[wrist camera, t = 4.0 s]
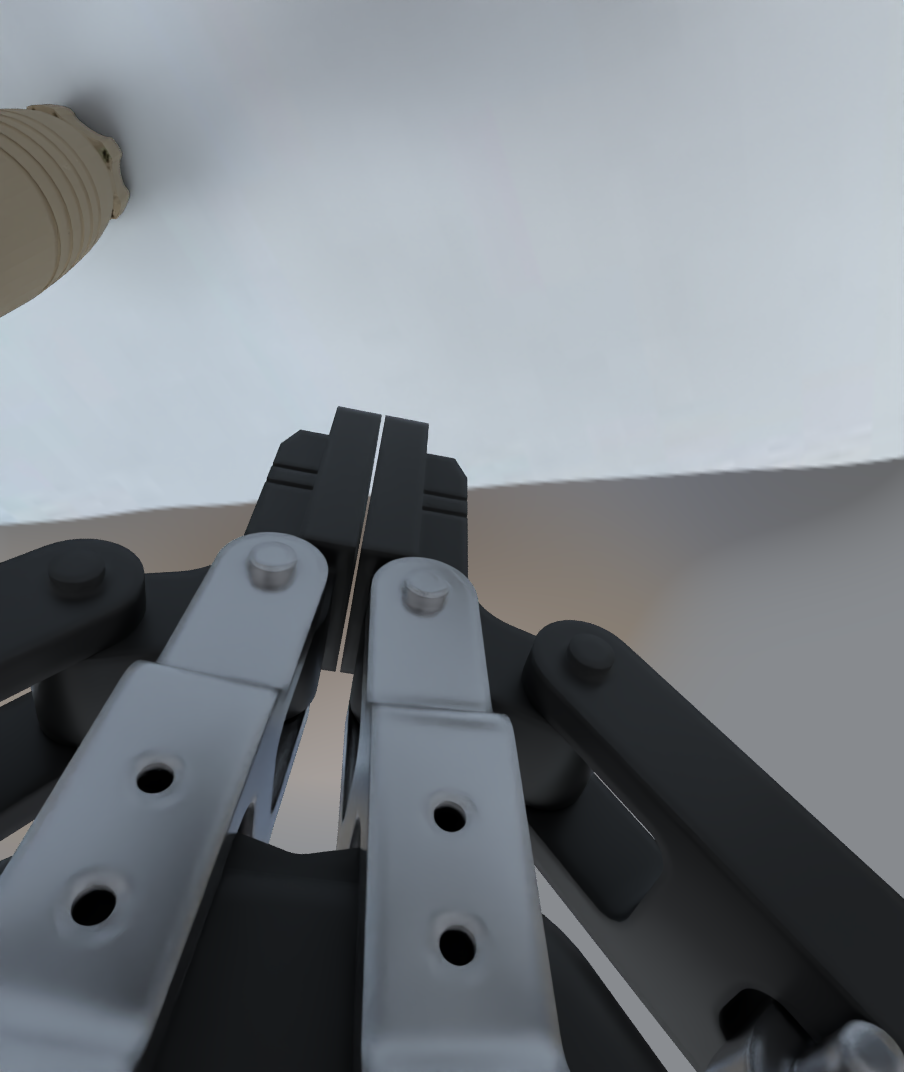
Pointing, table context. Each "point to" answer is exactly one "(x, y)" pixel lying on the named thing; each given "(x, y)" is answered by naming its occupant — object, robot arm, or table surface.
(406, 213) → the table surface
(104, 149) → the handle
